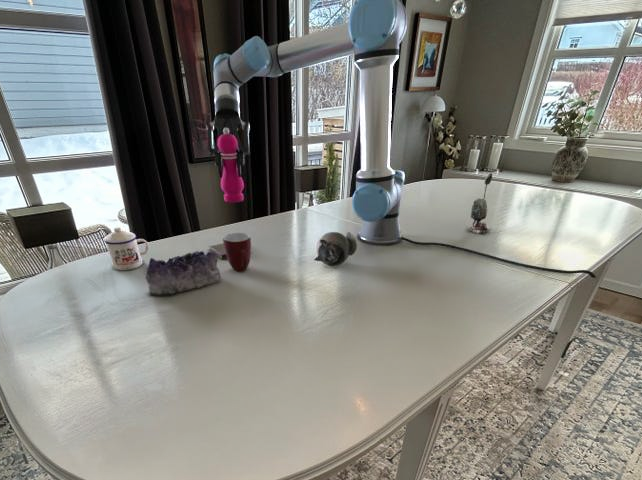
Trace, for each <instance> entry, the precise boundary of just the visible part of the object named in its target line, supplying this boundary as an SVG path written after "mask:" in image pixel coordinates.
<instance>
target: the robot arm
mask: <svg viewBox="0 0 642 480" xmlns="http://www.w3.org/2000/svg"><path fill="white" fill-rule="evenodd" d="M407 28H408V14H407V10H406V8H405V5H404V4H403V2H402V1H401V0H355V1H354V3H353V4H352V7H351V9H350V12H349V16H348V20H347V22H344V23H340V24H337V25H334V26H331V27H327V28H324V29H321V30H317V31H315V32H312V33H308V34H304V35H302V36H299V37H295V38H292V39H289V40H286V41H282V42H280V43H276V44H272V45H270V46H269V45H267V44H266V42H265V41H264V39H262V38H261V37H260V36H258V35H255V36H253V37H250V39H247V40H246V41H245V42H244V43H243V44H242V45H241V46H240V47H239V48H237V49H236V50H235V51H234V52H233V53H232V54H228V53H222V54H221V53H220V54H218V55H217V56H216V57H215V59H214V60H213V61H214V62H213V71H212V75H213V82H214V83H213V87H214V92H213V93H214V115H215V117H214V119H213V121H211V122H210V121H208V120H206V121H205V127H206V131H207V150H208V154H209V156H211V157H214V164H215V167H217V168H218V174H219V178H222V177H223V159H222V158H221V153H222V152H221V150H220V149H219V148H218V138H219V137H220V136H221V135H223V134H224V132H223V130H224V128H228V129H229V134H231V135H233V136H234V137H235V138H236V139H237V142H238V148H237V151H236V153H237V158H236V163H237V168H238V175H239V177H241V178H242V166H245V156H250V137H249V136H250V135H249V133H250V130H251V127H250V126H251V125H250V121H249V120H246V121H242V119H241V115H240V114H241V111H240V91H239V88H240V87H241V86H242V85H244V84H245V83H246V82H248V81H250V80H251V79H252V78H253V77H269V78H277V77H280V76H282V75H283V74H285V73H286V74H287V73H289V72H293V71H297V70H301V69H305V68H308V67H313V66H316V65H319V64H324V63H328V62H331V61H335V60H338V59H342V58H346V57H349V56H353V64H354V65H355V66H356V67H357V69H358V70H359V108H360V109H359V110H360V111H359V112H360V113H359V114H360V115H359V120H360V121H359V122H360V127H359V128H360V130H359V131H360V169H359V170H358V171H357V173H356V174H355V191H354V192H353V195H352V199H351V206H352V210H353V212H354V214H355V215H356V216H357V218H359V219H360V220H361V221H363V222H362V224H361V225H362V226H361V228H360V230H359V233H358V238H359V239H360V240H361V241H362V242H364V243H368V244H372V245H379V246H381V245H382V246H384V245H387V246H388V245H393V244H397V243H398V242H400V241H401V240H402V241H405V242H407V243H409V244H411V245H412V244H413V245H418V246H437V247H438V246H439V247H445V248H450V249H455V250H459V251H462V252H467V253H470V254H474V255H477V256H481V257H485V258H487V259H488V258H489V259H492V260H495V261H498V262H502V263H505V264H509V265H512V266H513V265H514V266H519V267H522V268H528V269H533V270H538V271H544V272H549V273H557V274H565V275H573V274H586V275H589V276H590V278H593V279H596V278H597V276H596V274H595V273H594V272H592V271H590V270H587V269H578V270H564V269H557V268H549V267H542V266H537V265H531V264H527V263H522V262H519V261H518V262H517V261H513V260H509V259H505V258H501V257H498V256H494V255H491V254H488V253H484V252H480V251H476V250H474V249H470V248H466V247H461V246H456V245H452V244H448V243H441V242H431V241H429V242H426V241H425V242H423V241H416V240H412V239H410V238H407V237H403V236H402V232H401V226H400V211H401V210H400V209H401V205H402V197H403V191H404V183H405V172H404V171H402V170H398V169H392V168H391V166H390V158H391V156H390V153H391V124H392V123H391V121H392V95H393V93H392V90H393V89H392V88H393V66H394V64H395V63H396V61H398V59H399V56H400V44H401V42H402V41H403V39H404V37H405V35H406V31H407ZM215 128H216V129H217V130H218V133H217V137H216V141H215V145H214V130H215ZM241 128H242V131H243V137H244V138H243V139H244V147H243V146H242V142H241V139H240V136H239V133H238V131H239V130H240V129H241ZM573 341H574V338H572V339H571V340H569V341H567V343H566V345H565V347H564V350H563V351H562V353H561V355H560V359H564V358H565V356H566V354H567V352H568V350H569V348H570V346H571V345H572V343H573Z"/></svg>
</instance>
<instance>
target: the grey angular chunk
mask: <svg viewBox="0 0 642 480" xmlns="http://www.w3.org/2000/svg"><path fill="white" fill-rule="evenodd" d="M208 247H209V252H211V253H214V254H215V255H216V256H217V258H220V259H221V260H226V259H228V258H227V255H226V252H225V249H224V244H223V243H219V244H214V245H211V246H210V245H209V246H208Z"/></svg>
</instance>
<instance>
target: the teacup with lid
mask: <svg viewBox="0 0 642 480" xmlns="http://www.w3.org/2000/svg"><path fill="white" fill-rule="evenodd" d="M103 241H104V243H105V245H106V248H107V251H108V254H109V257H110V260H111V264H112V266H113V268H114V269H115V270H118V271H128V270H134V269H137V268H139V267H140V266H142V265H143V259H142V256H145V255H147V253H148V252H149V249H150V245H149V242H148V241H147V240H145V239H144V238H138V239H137V235H136V234H135V233H134V232H131V231H126V230H124V229H123V230H122V228H121V227H120V226H117V227H114V228H113V231H112V232H110V233H109V234H107V235H105V236H104V238H103ZM138 243H144V244H145V250H144V251H142V252H140V249H139V244H138Z"/></svg>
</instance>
